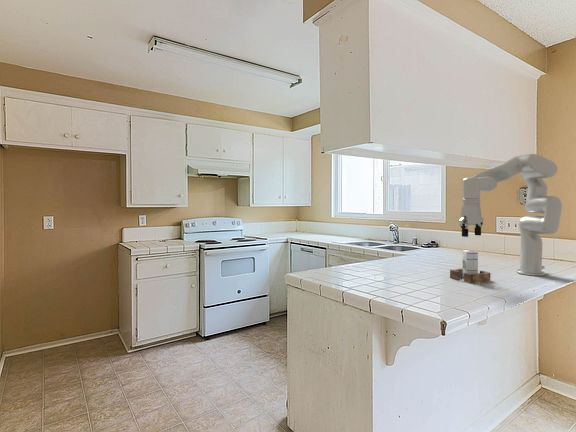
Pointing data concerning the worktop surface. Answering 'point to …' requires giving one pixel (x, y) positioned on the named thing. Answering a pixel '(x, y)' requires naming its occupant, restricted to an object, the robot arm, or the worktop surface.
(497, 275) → the worktop surface
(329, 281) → the worktop surface
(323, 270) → the worktop surface
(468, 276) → the brown joined bars
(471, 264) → the syrup box
